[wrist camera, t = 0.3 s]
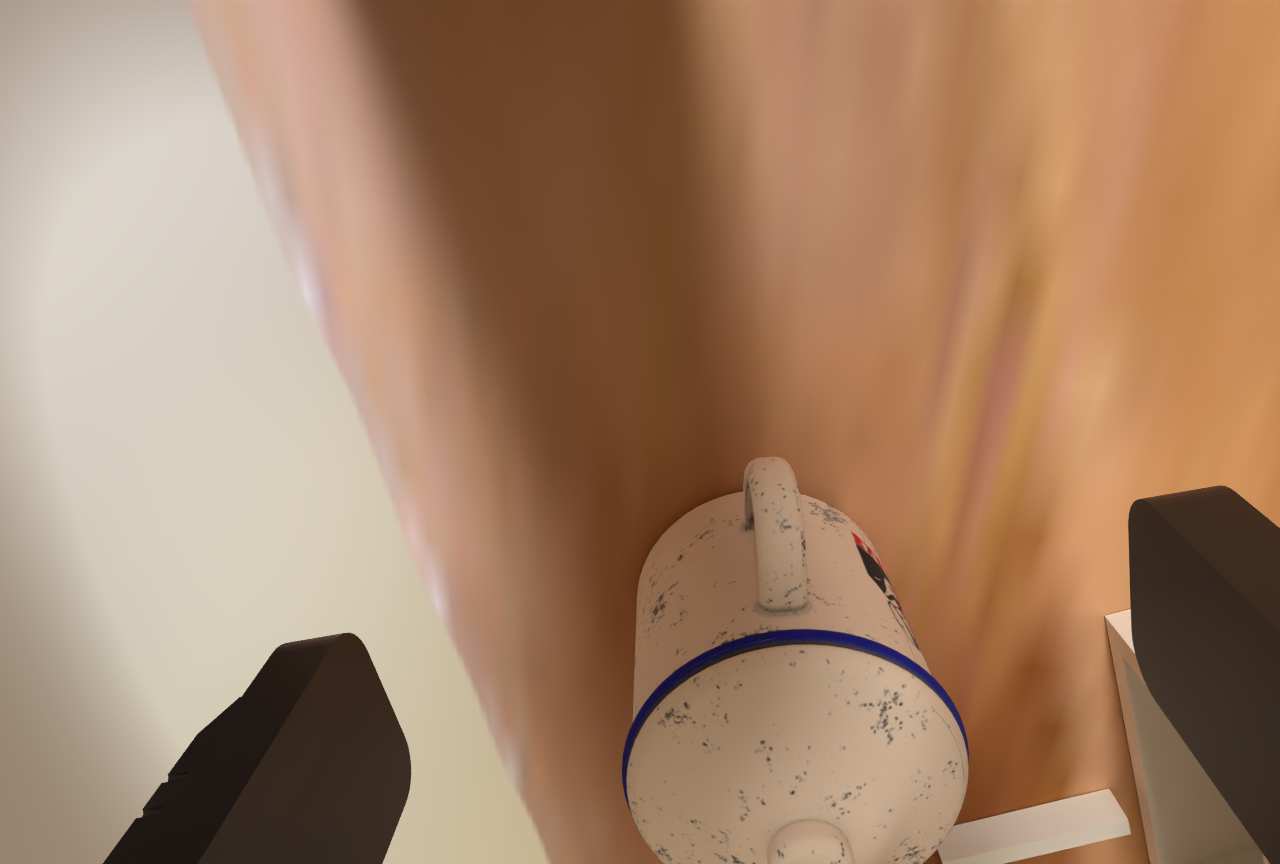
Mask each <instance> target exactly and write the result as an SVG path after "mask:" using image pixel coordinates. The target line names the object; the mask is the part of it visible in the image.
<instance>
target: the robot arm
mask: <svg viewBox="0 0 1280 864" xmlns="http://www.w3.org/2000/svg"><path fill="white" fill-rule="evenodd" d="M1128 530H1129V565H1130V600H1131V631H1132V640H1133V646H1134V651H1135V655H1136V659H1137V662H1138V665H1139V668H1140V671H1141V674H1142V676H1143V679H1144V681H1145V683H1146V685H1147V687H1148V689H1149V691H1150V693H1151V695H1152V696H1153V698H1154V699H1155V701H1156V703H1157V704H1158V705H1159V707H1160V708H1161V710H1162V711H1163V712H1164V714H1165V715H1166V717H1167V718H1168V720H1169V721H1170V722H1171V724H1172V725H1173V727H1174V728H1175V730H1176V731H1177V732H1178V734H1179V735H1180V737H1181V738H1182V739H1183V741H1184V742H1185V744H1186V745H1187V747H1188V748H1189V749H1190V751H1191V752H1192V754H1193V755H1194V757H1195V758H1196V759H1197V761H1198V762H1199V764H1200V765H1201V766H1202V768H1203V769H1204V771H1205V772H1206V774H1207V775H1208V776H1209V778H1210V779H1211V781H1212V782H1213V784H1214V785H1215V786H1216V788H1217V789H1218V791H1219V792H1220V793H1221V795H1222V796H1223V798H1224V799H1225V801H1226V802H1227V803H1228V805H1229V806H1230V808H1231V809H1232V810H1233V812H1234V813H1235V815H1236V816H1237V818H1238V819H1239V820H1240V822H1241V823H1242V825H1243V826H1244V828H1245V829H1246V830H1247V832H1248V833H1249V835H1250V836H1251V837H1252V839H1253V840H1254V842H1255V843H1256V845H1257V846H1258V847H1259V849H1260V850H1261V852H1262V853H1263V855H1264V856H1265V857H1266V859H1267V860H1268V862H1269V863H1270V864H1280V528H1279V527H1277V526H1276V525H1275V524H1274V523H1273V522H1271V521H1270V520H1269V519H1268V518H1267V517H1265V516H1264V515H1263V514H1262V513H1260V512H1259V511H1258V510H1257V509H1256V508H1254V507H1253V506H1252V505H1251V504H1249V503H1248V502H1247V501H1246V500H1245V499H1243V498H1242V497H1241V496H1240V495H1239V494H1237V493H1236V492H1235V491H1233V490H1232V489H1230V488H1228V487H1226V486H1214V487H1208V488H1202V489H1196V490H1190V491H1185V492H1179V493H1173V494H1167V495H1161V496H1155V497H1149V498H1144V499H1139V500H1136V501H1135V502H1134V503H1133V504H1132V506H1131V509H1130V512H1129V520H1128ZM410 782H411V762H410V754H409V748H408V744H407V741H406V739H405V736H404V734H403V731H402V729H401V727H400V725H399V722H398V720H397V717H396V715H395V713H394V711H393V708H392V706H391V704H390V701H389V699H388V697H387V694H386V692H385V690H384V688H383V685H382V683H381V681H380V679H379V676H378V674H377V672H376V669H375V667H374V665H373V662H372V661H371V658H370V655H369V653H368V651H367V649H366V647H365V645H364V644H363V643H362V641H361V640H360V639H359V638H358V637H357V636H356V635H354V634H351V633H342V634H336V635H331V636H325V637H319V638H313V639H307V640H301V641H296V642H290V643H285V644H282V645H280V646H279V647H278V648H276V650H275V651H274V652H273V653H272V654H271V656H270V657H269V659H268V660H267V662H266V663H265V664H264V666H263V668H262V669H261V670H260V672H259V673H258V674H257V676H256V677H255V679H254V680H253V682H252V683H251V684H250V686H249V687H248V689H247V690H246V691H245V693H244V694H243V696H242V697H239V698H238V699H237V700H236V701H235V702H234V703H233V704H231V705H230V706H229V707H228V708H227V709H226V710H225V711H223V712H222V713H221V714H220V715H219V716H218V717H217V718H216V719H214V720H213V721H212V722H211V723H210V724H209V725H208V726H206V727H205V728H204V729H203V730H202V731H201V732H199V733H198V734H197V736H196V737H195V738H194V740H193V741H192V742H191V744H190V745H189V746H188V748H187V749H186V751H185V752H184V753H183V755H182V756H181V757H180V759H179V760H178V761H177V763H176V764H175V766H174V767H173V768H172V770H171V771H170V773H169V774H168V782H165V783H161V785H160V786H159V787H158V789H157V790H156V792H155V793H154V794H153V796H152V797H151V798H150V800H149V801H148V803H147V804H146V806H145V807H144V808H143V817H141V818H136V819H135V820H134V822H133V823H132V825H131V826H130V827H129V829H128V830H127V831H126V833H125V834H124V835H123V837H122V838H121V840H120V841H119V842H118V844H117V845H116V846H115V848H114V849H113V850H112V852H111V853H110V855H109V856H108V857H107V859H106V860H105V861H104V863H103V864H382V863H383V860H384V858H385V855H386V853H387V850H388V848H389V845H390V842H391V840H392V837H393V835H394V832H395V829H396V827H397V824H398V822H399V819H400V817H401V814H402V812H403V809H404V806H405V803H406V801H407V798H408V794H409V789H410Z"/></svg>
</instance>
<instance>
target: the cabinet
mask: <svg viewBox="0 0 1280 864" xmlns="http://www.w3.org/2000/svg"><path fill="white" fill-rule="evenodd" d="M1105 620H1106V625H1107V631H1108V636H1109V642H1110V647H1111V653H1112V658H1113V664H1114V669H1115V675H1116V680H1117V685H1118V691H1119V696H1120V702H1121V707H1122V713H1123V718H1124V724H1125V729H1126V734H1127V740H1128V745H1129V751H1130V756H1131V762H1132V767H1133V773H1134V778H1135V784H1136V789H1137V794H1138V800H1139V805H1140V811H1141V816H1142V822H1143V827H1144V833H1145V838H1146V843H1147V849H1148V854H1149V860H1150V864H1270V863H1269V862H1268V860H1267V859H1266V857H1265V856H1264V855H1263V853H1262V852H1261V850H1260V849H1259V847H1258V846H1257V845H1256V843H1255V842H1254V840H1253V839H1252V837H1251V836H1250V835H1249V833H1248V832H1247V830H1246V829H1245V828H1244V826H1243V825H1242V823H1241V822H1240V820H1239V819H1238V818H1237V816H1236V815H1235V813H1234V812H1233V810H1232V809H1231V808H1230V806H1229V805H1228V803H1227V802H1226V801H1225V799H1224V798H1223V796H1222V795H1221V793H1220V792H1219V791H1218V789H1217V788H1216V786H1215V785H1214V784H1213V782H1212V781H1211V779H1210V778H1209V776H1208V775H1207V774H1206V772H1205V771H1204V769H1203V768H1202V766H1201V765H1200V764H1199V762H1198V761H1197V759H1196V758H1195V757H1194V755H1193V754H1192V752H1191V751H1190V749H1189V748H1188V747H1187V745H1186V744H1185V742H1184V741H1183V739H1182V738H1181V737H1180V735H1179V734H1178V732H1177V731H1176V730H1175V728H1174V727H1173V725H1172V724H1171V722H1170V721H1169V720H1168V718H1167V717H1166V715H1165V714H1164V712H1163V711H1162V710H1161V708H1160V707H1159V705H1158V704H1157V703H1156V701H1155V699H1154V698H1153V696H1152V695H1151V693H1150V691H1149V689H1148V687H1147V685H1146V683H1145V681H1144V679H1143V676H1142V674H1141V671H1140V668H1139V665H1138V662H1137V659H1136V655H1135V651H1134V646H1133V640H1132V631H1131V609H1128V610H1125V611H1121V612H1117V613H1113V614H1110V615H1106V616H1105ZM1130 834H1131V832H1130V827H1129V822H1128V819H1127V817H1126V815H1125V814H1124V812H1123V810H1122V809H1121V807H1120V806H1119V804H1118V802H1117V801H1116V799H1115V797H1114V796H1113V794H1112V793H1111V791H1110V789H1105V790H1101V791H1096V792H1092V793H1088V794H1084V795H1080V796H1076V797H1071V798H1067V799H1063V800H1059V801H1055V802H1051V803H1047V804H1042V805H1038V806H1034V807H1030V808H1026V809H1022V810H1017V811H1013V812H1009V813H1005V814H1001V815H997V816H992V817H988V818H984V819H980V820H976V821H972V822H967V823H963V824H959V825H955V826H953V827H952V829H951V831H950V832H949V834H948V835H947V837H946V838H945V840H944V841H943V842H942V844H941V845H940V846H939V847H938V848H937V850H938V853H939V856H940V859H941V861H942V864H1004V863H1009V862H1013V861H1017V860H1022V859H1026V858H1030V857H1035V856H1039V855H1043V854H1048V853H1052V852H1056V851H1061V850H1065V849H1069V848H1073V847H1078V846H1082V845H1086V844H1091V843H1095V842H1099V841H1104V840H1108V839H1112V838H1117V837H1121V836H1125V835H1130Z"/></svg>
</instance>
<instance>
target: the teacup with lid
mask: <svg viewBox="0 0 1280 864" xmlns="http://www.w3.org/2000/svg"><path fill="white" fill-rule="evenodd" d="M968 764H969V751H968V742H967V737H966V733H965V729H964V725H963V723H962V720H961V718H960V715H959V713H958V711H957V709H956V707H955V705H954V703H953V702H952V700H951V698H950V697H949V696H948V694H947V693H946V691H945V690H944V689H943V687H942V686H941V685H940V684H939V683H938V682H937V681H936V680H935V679H934V678H933V676H931V673H930V671H929V669H928V667H927V664H926V662H925V660H924V658H923V655H922V653H921V651H920V649H919V646H918V644H917V642H916V640H915V637H914V635H913V633H912V630H911V628H910V626H909V624H908V621H907V619H906V617H905V615H904V612H903V610H902V608H901V606H900V603H899V601H898V599H897V597H896V594H895V592H894V590H893V588H892V585H891V583H890V581H889V579H888V576H887V574H886V572H885V570H884V567H883V565H882V563H881V560H880V558H879V556H878V554H877V552H876V550H875V548H874V546H873V545H872V543H871V542H870V540H869V539H868V537H867V536H866V535H865V533H864V532H863V531H862V530H861V529H860V528H859V527H858V525H857V524H855V523H854V522H853V521H852V520H851V519H850V518H849V517H847V516H846V515H845V514H843V513H842V512H841V511H839V510H837V509H836V508H834V507H832V506H831V505H829V504H827V503H824V502H822V501H820V500H818V499H815V498H812V497H809V496H806V495H803V494H800V493H799V488H798V484H797V481H796V477H795V474H794V472H793V470H792V468H791V466H790V465H789V464H788V462H787V461H785V460H784V459H782V458H780V457H762V458H756V459H754V460H752V461H750V462H749V464H748V465H747V467H746V469H745V472H744V480H743V491H742V492H737V493H732V494H728V495H725V496H722V497H718V498H716V499H713V500H711V501H708V502H706V503H704V504H702V505H700V506H698V507H696V508H695V509H693V510H691V511H690V512H688V513H686V514H685V515H684V516H682V517H681V518H680V519H678V520H677V521H676V522H675V523H674V524H673V525H672V526H671V527H669V528H668V529H667V530H666V532H665V533H664V534H663V535H662V536H661V537H660V538H659V540H658V541H657V542H656V544H655V545H654V547H653V548H652V550H651V552H650V553H649V555H648V557H647V559H646V561H645V564H644V566H643V569H642V572H641V575H640V579H639V584H638V591H637V612H636V641H635V670H634V700H633V724H632V726H631V728H630V730H629V733H628V736H627V739H626V743H625V748H624V753H623V762H622V779H623V787H624V793H625V797H626V800H627V804H628V807H629V809H630V812H631V814H632V816H633V819H634V821H635V824H636V826H637V828H638V830H639V832H640V833H641V835H642V837H643V838H644V840H645V842H646V843H647V844H648V846H649V847H650V848H651V850H652V851H653V852H654V853H655V855H656V856H657V857H658V858H659V859H660V860H661V861H662V862H663V863H664V864H923V863H924V862H925V861H926V860H927V859H928V858H929V857H930V856H931V855H932V854H933V853H934V852H935V851H936V850H937V848H938V847H939V846H940V845H941V844H942V842H943V841H944V840H945V838H946V837H947V835H948V834H949V832H950V831H951V829H952V827H953V825H954V823H955V822H956V819H957V817H958V815H959V812H960V810H961V807H962V804H963V801H964V797H965V793H966V789H967V782H968Z"/></svg>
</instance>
